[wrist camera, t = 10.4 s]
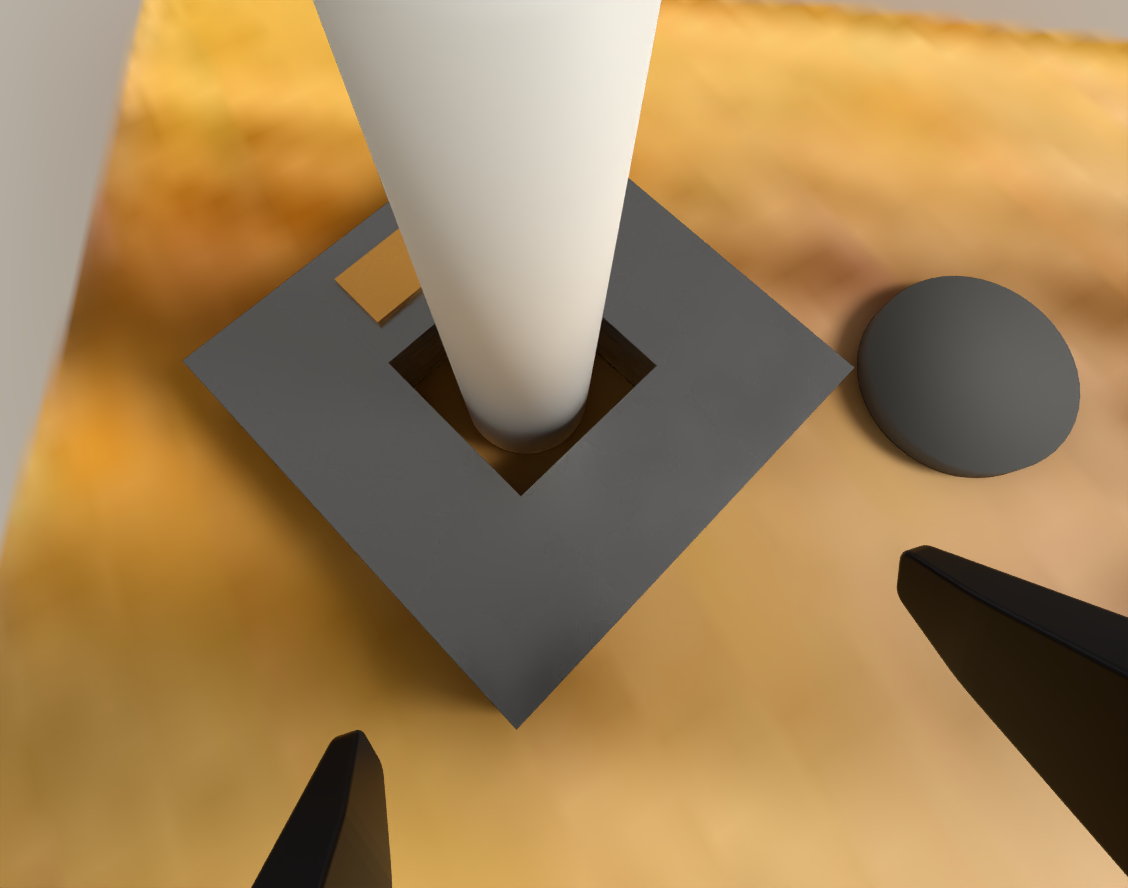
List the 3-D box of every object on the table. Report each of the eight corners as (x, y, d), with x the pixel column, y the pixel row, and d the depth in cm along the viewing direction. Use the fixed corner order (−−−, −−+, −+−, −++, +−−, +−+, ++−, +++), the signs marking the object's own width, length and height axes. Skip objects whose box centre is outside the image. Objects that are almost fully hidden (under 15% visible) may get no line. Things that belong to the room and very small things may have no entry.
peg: (563, 470, 20) (607, 74, 5) (448, 429, 20) (196, -52, 6) (602, 363, 21) (727, -209, 6) (492, 325, 21) (377, -303, 7)
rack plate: (520, 714, 18) (516, 730, 15) (225, 391, 20) (178, 358, 18) (818, 396, 21) (857, 365, 18) (530, 148, 23) (528, 89, 21)
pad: (985, 521, 20) (1003, 518, 19) (816, 377, 21) (826, 368, 20) (1098, 379, 21) (1119, 370, 20) (934, 252, 22) (948, 239, 22)
